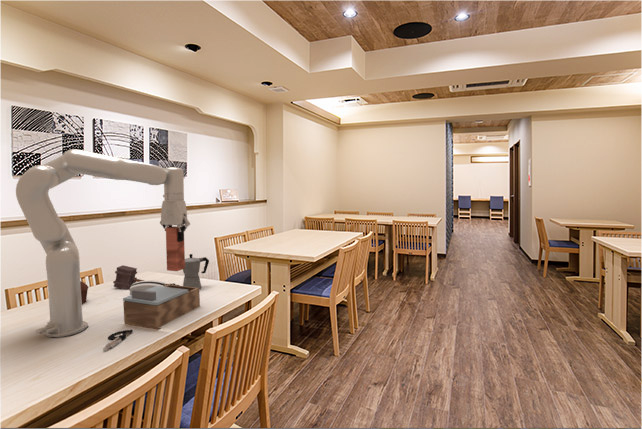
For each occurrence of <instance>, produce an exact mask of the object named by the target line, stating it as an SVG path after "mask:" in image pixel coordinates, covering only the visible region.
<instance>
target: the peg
mask: <svg viewBox="0 0 642 429" xmlns="http://www.w3.org/2000/svg"><path fill="white" fill-rule="evenodd" d="M177 232H179V231H178V227H177V225H172V227H167V228H166V231H165V244H166V245H165V246H166V247H165V251H166V253H165V254H166V271H170V272H179V271H183V269H185V259H186V258H185V256H186V254H185V240H184V241H181V242H178V236H177Z"/></svg>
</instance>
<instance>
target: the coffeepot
mask: <svg viewBox="0 0 642 429" xmlns="http://www.w3.org/2000/svg"><path fill="white" fill-rule="evenodd" d="M202 262H204V267H203V270H202V271H201V274H206V272H207V269H208V266H209V264H210V259H208V258H207V257H206V256H204V257H193V254H192V253H190V254H189V257H187V258H185V269H182V272H183V274H184V277H183V283H182V286H187V287H196V288H199V291H200V290H201V289H202V283H201V278H200V275H199V272H200V270H201V269H200V267H201V263H202Z"/></svg>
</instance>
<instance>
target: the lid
mask: <svg viewBox="0 0 642 429" xmlns="http://www.w3.org/2000/svg"><path fill="white" fill-rule="evenodd" d="M187 292H188V289H179V288H171V287H162V286H155V287H152V288H150V289H147V290H138V289H134V290H132V295H130V294H129V295H127V296H126V297H125V296H124V297H123V299H122V302H123V301H129V302H136V303H143V304H150V305H159V304H162V303H164V302H166V301H169V300H171V299H173V298H175V297H178V296H180V295H182V294H185V293H187Z"/></svg>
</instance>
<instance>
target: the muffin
mask: <svg viewBox="0 0 642 429" xmlns="http://www.w3.org/2000/svg"><path fill="white" fill-rule="evenodd" d="M80 285H81V300H82V305H84V304H86V303H87V298H88V297H87V296H88V289H89V286H88V285H87V284H86V282H83V281H81V280H80ZM85 302H86V303H85ZM83 303H84V304H83Z"/></svg>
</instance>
